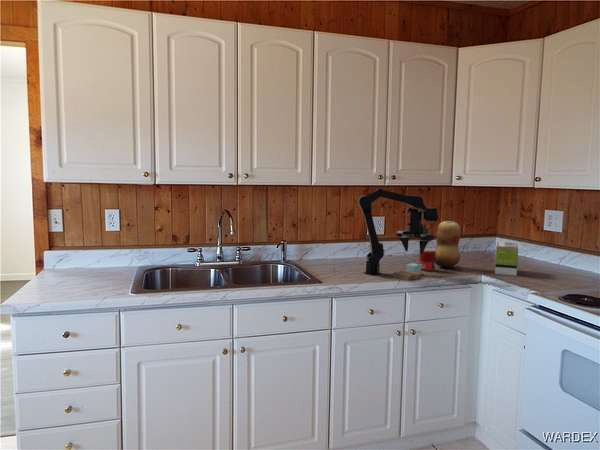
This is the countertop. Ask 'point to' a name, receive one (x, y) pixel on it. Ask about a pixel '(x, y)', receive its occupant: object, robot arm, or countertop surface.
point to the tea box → (506, 258)
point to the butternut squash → (447, 244)
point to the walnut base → (406, 275)
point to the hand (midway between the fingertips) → (414, 252)
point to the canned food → (427, 259)
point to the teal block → (413, 268)
